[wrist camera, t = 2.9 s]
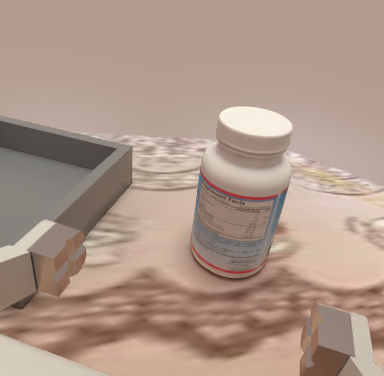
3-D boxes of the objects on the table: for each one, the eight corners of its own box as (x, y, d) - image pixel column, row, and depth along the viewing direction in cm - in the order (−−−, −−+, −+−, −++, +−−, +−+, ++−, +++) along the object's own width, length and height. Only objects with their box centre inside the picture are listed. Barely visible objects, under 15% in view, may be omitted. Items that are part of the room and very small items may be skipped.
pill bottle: (224, 218, 31) (248, 96, 25) (280, 257, 28) (324, 126, 22) (173, 247, 27) (186, 111, 21) (231, 295, 24) (267, 151, 18)
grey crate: (132, 182, 35) (132, 146, 32) (21, 309, 21) (9, 262, 19) (-5, 147, 38) (-13, 112, 35) (-175, 240, 24) (-205, 193, 22)
